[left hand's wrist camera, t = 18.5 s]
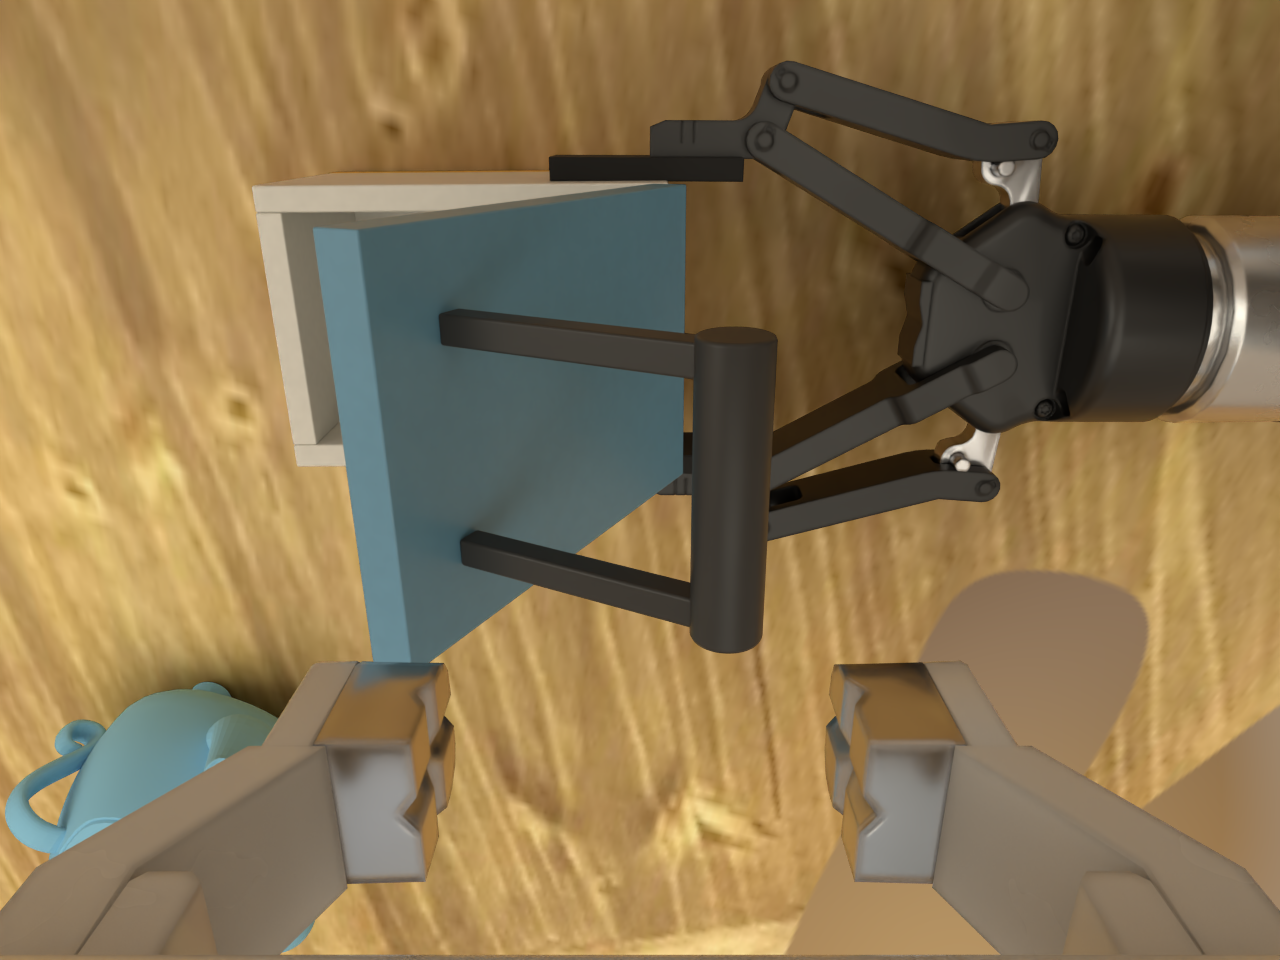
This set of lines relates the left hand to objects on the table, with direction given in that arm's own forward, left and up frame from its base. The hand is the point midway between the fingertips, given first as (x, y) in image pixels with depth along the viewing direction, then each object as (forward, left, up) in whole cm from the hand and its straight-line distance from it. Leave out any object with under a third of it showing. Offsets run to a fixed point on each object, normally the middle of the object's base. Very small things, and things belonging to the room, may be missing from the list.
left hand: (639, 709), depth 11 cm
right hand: (-2, -2, -24) cm, 24 cm away
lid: (-2, -2, -15) cm, 15 cm away
